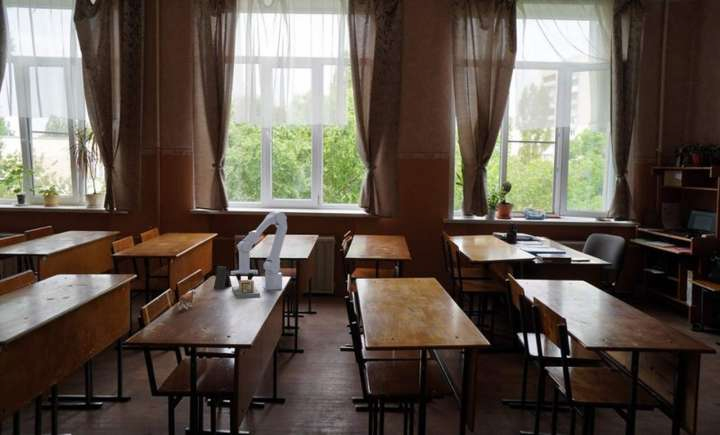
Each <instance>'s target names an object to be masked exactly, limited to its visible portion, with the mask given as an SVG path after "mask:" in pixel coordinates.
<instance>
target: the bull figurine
mask: <svg viewBox="0 0 720 435" xmlns="http://www.w3.org/2000/svg"><path fill="white" fill-rule="evenodd" d="M195 296H198V292H197V291H196V290H195V289H192V290H191V289H190V290H189V291H188V292H185V294H182V295H181V296H179V298H178V301H179V306H178V307H179V308H178V309H179V311H182V306H183V308H184V309H185V310H189V308H192V307H193V306H192V303H193V299H194V297H195ZM188 307H189V308H188Z"/></svg>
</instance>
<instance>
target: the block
mask: <svg viewBox="0 0 720 435" xmlns="http://www.w3.org/2000/svg"><path fill="white" fill-rule="evenodd" d="M242 291H243V292H250V291H251V282H250V283H242Z"/></svg>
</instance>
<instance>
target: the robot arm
mask: <svg viewBox="0 0 720 435" xmlns="http://www.w3.org/2000/svg"><path fill="white" fill-rule="evenodd" d="M287 219H288V217H287V215H286V214H285V213H284V212H283V211H277V210H272V211H270V212H269V214H267V215H266V216H265V218H264V219H263V221H262V222H261V223H260V224H259V225H258V227H256V229H255V230H252V231H249V232H248V235H246V237H245V238H243V239H242V240H241V241H239V242H238V244H237V246H236V247H237V250H238V253H239V254H238V269H237V270H231V271H230V275H231V276H235V278H236V279H237V281H238V282H237V283H238V284H239V280H242V275H247V280H253V277H254V275H259V270H257V269H251V268H250V267H251V266H250V265H251V264H250V263H251V262H250V260H251V258H250V256H251V255H250V251H252V249H253V246H254V244H255V243H256V242H258V240H260V238H261V237H260V236H261V234H262V233H263V232H264V231H265V230H266V229H267V228H268V227H269V226H270V225H275V228H276V231H275V236H274V239H273V243H272V246H271V250H270V252H269V255H268V256H267V257H266V260H265V261H264V262H263V270H265V271H264V277H265V278H264V285H263V288H264V289H265V290H267V291H268V290H269V291H270V290H272V291H273V290H282V289H283V273H282V272H279V271H280V270H281V264H280V263H281V259H280V255H281V253H282V252H281V251H282V248H283V245H284V241H285V238H286V234H287V230H288V222H287Z"/></svg>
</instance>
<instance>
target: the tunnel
mask: <svg viewBox="0 0 720 435" xmlns="http://www.w3.org/2000/svg"><path fill="white" fill-rule="evenodd" d="M242 283H250V284H251V291H254V287H255V281H254V280H253V279H252V280H248V279H241V280H239V283H238V286H239V291H242Z"/></svg>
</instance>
